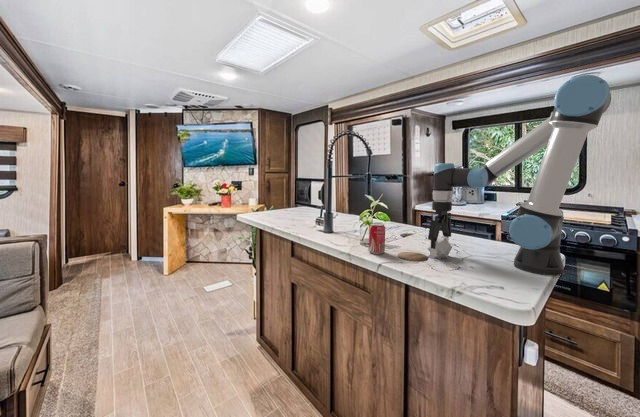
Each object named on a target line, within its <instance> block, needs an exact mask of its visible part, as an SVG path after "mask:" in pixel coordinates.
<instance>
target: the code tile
mask: <svg viewBox="0 0 640 417" xmlns="http://www.w3.org/2000/svg"><path fill="white" fill-rule="evenodd" d="M426 256H427V259H433V260H437V261H440V262H446V261H448V260H450V259H452V258H453V256H449V255H448V256H447V258H434V257H433V256H431V255H430V254H429V255H426Z"/></svg>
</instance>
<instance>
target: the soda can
mask: <svg viewBox="0 0 640 417" xmlns="http://www.w3.org/2000/svg"><path fill="white" fill-rule="evenodd" d="M385 250H386V226H385V223H382V222H371V223H370V225H369V226H368V252H369V253H370V254H373V255H382V254H384V253H385Z"/></svg>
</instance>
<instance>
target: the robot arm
mask: <svg viewBox="0 0 640 417" xmlns="http://www.w3.org/2000/svg"><path fill="white" fill-rule="evenodd" d="M553 99H554V100H553V105H554V108H553V111H552V112H551V113H550V116H549V117H548V118H547V119H545V120H543V121H542V122H541V123H540V124H538V125H537V126H535V127H534V128H532V129H531V130H530V131H528V132H527V133H525V134H524V135H523V136H521V137H520V138H518V139H517V140H516V141H514V142H513V143H511V144H510V145H509V146H507V147H506V148H503V150H502V151H500V152H499V153H497V154H496V155H495V156H493V157H491V159H489V160H488V161H486V162H485V163H483V164H482V165H480V166H479V167H463V168H462V167H460V168H458V167H455V164H454V163H450V162H449V163H448V162H447V163H443V162H441V163H440V162H439V163H436V164H435V165H434V170H433V187H432V189H433V190H432V194H431V195H432V200H433V201H432V203H431V205H432V206H431V209H432V211H435V213H434V214H431V215H430V224H429V230H428V235H427V236H428V238H427V239H428V241H431V246H430V252H429V255H431V256H435V257H437V251H438V241H437V238H439V234H440V231H441V233H442V236H441V238H445V239H446V240H447V241H448V242H449V238H451V237H452V216H451V215H452V213H451V211H452V208H453V202H452V201H453V193H454V192H453V191H454V188H467V189H468V188H469V189H471V188H472V189H483V188H485V187H487V186H489V185H491V184H492V183H494V180H496V179H498V178H499V177H501V176H502V175H504V174H505V173H507V172H508V171H509V170H511V169H513V168H514V167H516V166H518V165H520V164H521V163H522V162H523V161H526V160H527V159H528V158H531V157H532V156H533V155H535V154H536V153H537V152H539V151H541V150H542V149H544V148H545V150H544V154H543V157H542V159H541V162H540V164H539V168H538V171H537V173H536V176H535V179H534V181H533V185H532V187H531V190H530V193H529V196H528V198H527V200H526V201H525V202H522V203H520V205H519V208H518V211H517V213H516V214H517V215H516V216H515V218H514V219H513V220H512V222H511V223H510V225H509V229H508V230H509V232H508V233H509V236H510V238H511V240H512V241H513V243H515V244H516V245H517V246H519V248H518V251H517V253H516V255H515V257H514V259H513V266H514V267H515V268H517V269H519V270H520V271H524V272H529V273H532V274H533V273H534V274H540V275H545V276H548V275H549V276H550V275H551V276H559V275H562V274H564V272H565V270H564V269H565V265H564V263H563V262H564V261H563V259H562V255H561V251H560V250H561V249H560V248H561V239H562V233H563V232H562V231H563V222H564V221H563V220H564V219H565V217H564V211H563V210H562V209H560V206H561V203H562V200H563V198H564V195H565V192H566V190H567V188H568V185H569V182H570V180H571V177H572V175H573V172H574V170H575V167H576V165H577V162H578V159H579V157H580V154H581V153H582V149H583V146H584V144H585V142H586V138H587V136H588V135H589V134H588V133H589V132H590V131H592V130H594V129H596V128H597V127H598V125H599V124H600V121H601V119H602V115H603V114H604V113H605V112H606V111H607V110H608V108H609V107H610V104H611V101H612V93H611V90H610V85H609V83H608V81H606V80H605V79H603V78H602V77H600V76H598V75H595V74H583V75H578V76H577V75H576V76H574V77H572V78H571V79H569V80H567V81H566V82H565V83H563V84H562V85H561V86H560V87H559V88H558V89H557V91H556V93H555V95H554V98H553Z"/></svg>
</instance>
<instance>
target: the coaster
mask: <svg viewBox="0 0 640 417" xmlns="http://www.w3.org/2000/svg"><path fill="white" fill-rule="evenodd" d="M427 256H428V255H425V254H423V253H420V252H413V251H404V252H403V251H402V252H401V251H400V252H398V253H397V258H399V259H401V260H404V261H410V262H423V261H427V259H428V258H427Z"/></svg>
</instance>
